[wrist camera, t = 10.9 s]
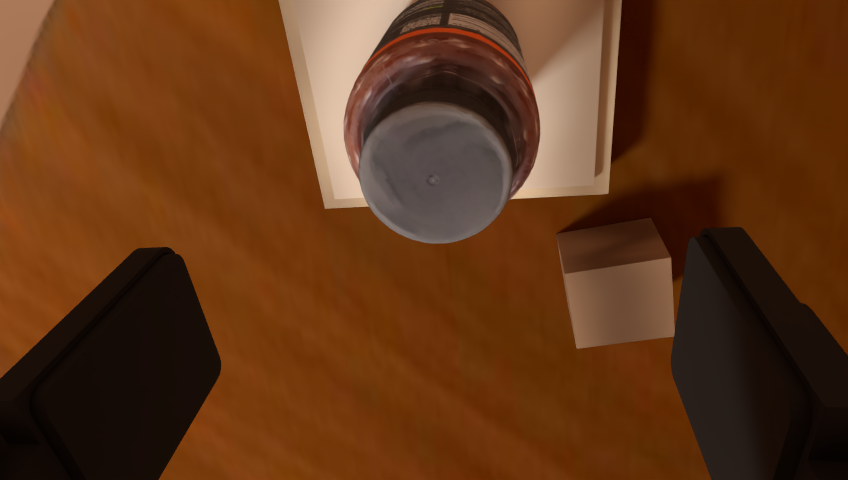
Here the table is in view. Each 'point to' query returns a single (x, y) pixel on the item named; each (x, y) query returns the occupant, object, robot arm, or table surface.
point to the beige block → (617, 283)
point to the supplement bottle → (443, 120)
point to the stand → (545, 59)
